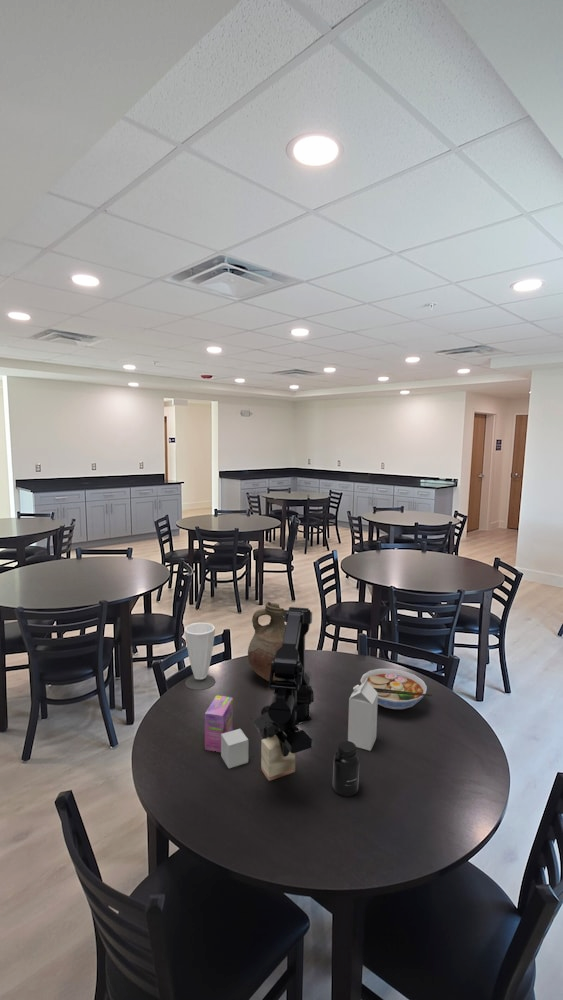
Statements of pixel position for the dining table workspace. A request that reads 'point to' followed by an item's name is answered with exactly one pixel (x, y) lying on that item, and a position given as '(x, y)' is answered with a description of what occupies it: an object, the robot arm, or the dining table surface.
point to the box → (218, 722)
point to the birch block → (275, 759)
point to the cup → (200, 654)
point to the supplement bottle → (346, 769)
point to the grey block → (234, 748)
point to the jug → (266, 639)
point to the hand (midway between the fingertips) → (285, 755)
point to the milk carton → (363, 716)
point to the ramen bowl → (396, 687)
